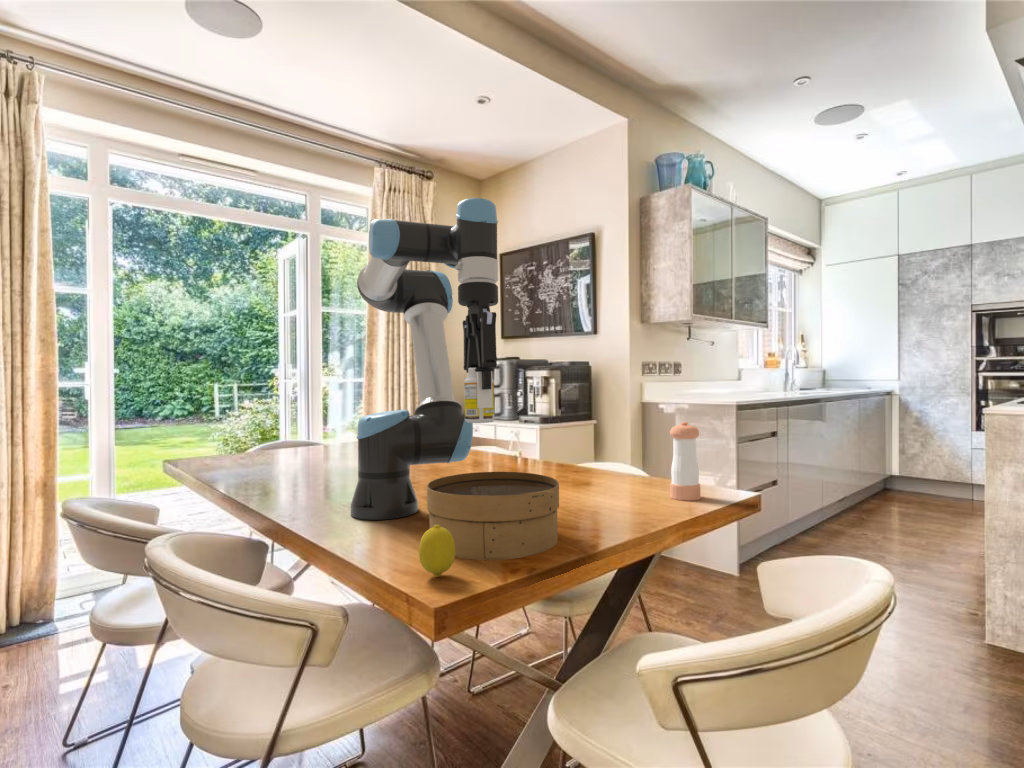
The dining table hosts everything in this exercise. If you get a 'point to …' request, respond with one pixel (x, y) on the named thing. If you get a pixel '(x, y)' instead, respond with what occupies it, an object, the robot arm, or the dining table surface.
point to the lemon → (437, 550)
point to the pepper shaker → (684, 463)
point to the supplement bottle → (471, 408)
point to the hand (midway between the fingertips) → (480, 407)
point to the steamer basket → (496, 513)
